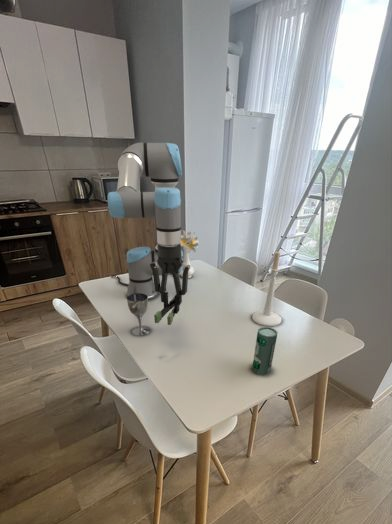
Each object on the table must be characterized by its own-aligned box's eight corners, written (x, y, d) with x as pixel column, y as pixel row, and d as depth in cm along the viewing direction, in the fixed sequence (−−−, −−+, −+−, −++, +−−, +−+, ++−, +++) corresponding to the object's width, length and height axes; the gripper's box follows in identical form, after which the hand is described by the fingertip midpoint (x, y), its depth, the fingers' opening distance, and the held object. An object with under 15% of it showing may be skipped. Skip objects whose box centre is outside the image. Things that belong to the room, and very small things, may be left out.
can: (253, 362, 106) (259, 325, 97) (271, 365, 104) (278, 328, 96) (251, 372, 101) (256, 334, 92) (269, 376, 99) (276, 338, 91)
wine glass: (134, 337, 118) (130, 303, 110) (128, 328, 124) (124, 295, 116) (153, 333, 122) (150, 299, 113) (146, 324, 127) (143, 291, 119)
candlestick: (246, 319, 133) (254, 251, 116) (262, 310, 141) (272, 245, 124) (271, 329, 126) (284, 258, 109) (286, 318, 134) (300, 251, 117)
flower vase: (184, 283, 167) (184, 237, 153) (171, 273, 180) (169, 230, 167) (204, 280, 172) (206, 235, 158) (190, 270, 186) (190, 228, 172)
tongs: (172, 300, 115) (172, 292, 113) (186, 301, 114) (186, 294, 112) (154, 323, 100) (153, 315, 98) (170, 325, 98) (170, 317, 97)
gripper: (197, 242, 95) (196, 309, 108) (149, 239, 98) (154, 304, 111) (191, 249, 89) (191, 318, 102) (140, 244, 92) (146, 312, 105)
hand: (171, 311), depth 106 cm, fingers closed on tongs, 3 cm apart
